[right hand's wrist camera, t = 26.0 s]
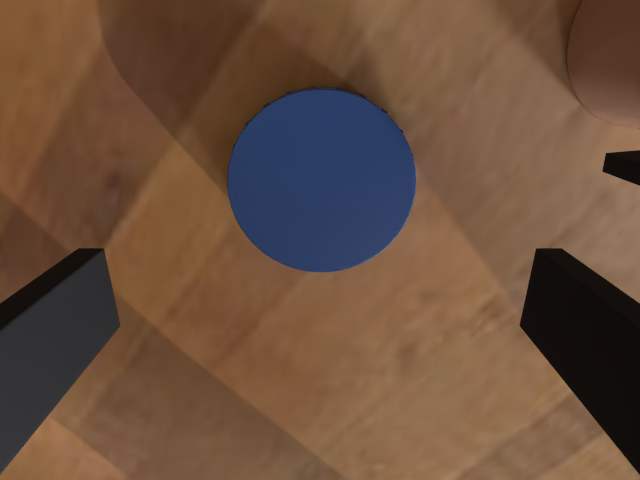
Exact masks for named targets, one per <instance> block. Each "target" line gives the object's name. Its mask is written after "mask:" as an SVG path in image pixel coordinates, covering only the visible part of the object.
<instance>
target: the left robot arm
mask: <svg viewBox="0 0 640 480" xmlns="http://www.w3.org/2000/svg"><path fill="white" fill-rule="evenodd" d="M602 172H605V173H608V174H610V175H613V176H616V177H618V178H621V179H624V180H626V181H629V182H632V183H634V184H637V185H640V150H638V151H626V152H614V153H606V156H605V161H604V166H603V171H602Z"/></svg>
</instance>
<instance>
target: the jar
mask: <svg viewBox="0 0 640 480" xmlns="http://www.w3.org/2000/svg"><path fill="white" fill-rule="evenodd" d="M567 67H568V74H569V79H570V82H571V85H572V88H573V90H574V92H575V94H576V96H577V98H578V99H579V101H580V102H581V104H582V105H583V106H584V107H585V108H586V109H587V110H588V111H589V112H590V113H592V114H593V115H594V116H596V117H597V118H599V119H601V120H603V121H605V122H608V123H611V124H614V125H619V126H624V127H628V128H633V129H638V130H640V0H582V2H581V4H580V6H579V9H578V11H577V13H576V15H575V18H574V21H573V24H572V27H571V31H570V35H569V40H568V48H567Z"/></svg>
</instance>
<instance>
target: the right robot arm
mask: <svg viewBox="0 0 640 480" xmlns="http://www.w3.org/2000/svg"><path fill="white" fill-rule="evenodd" d="M119 327H120V322H119V317H118V313H117V308H116V303H115V299H114V294H113V289H112V285H111V280H110V275H109V271H108V266H107V261H106V257H105V252H104V248H78V249H77V250H76V251H74V252H73V253H71V254H70V255H68V256H67V257H66V258H64V259H63V260H61V261H60V262H59V263H57V264H56V265H54V266H53V267H51V268H50V269H49V270H47V271H46V272H44V273H43V274H42V275H40V276H39V277H37V278H36V279H34V280H33V281H32V282H30V283H29V284H27V285H26V286H25V287H23V288H22V289H20V290H19V291H17V292H16V293H15V294H13V295H12V296H10V297H9V298H8V299H6V300H5V301H3V302H2V303H0V474H1V473H2V472H3V471H4V469H5V468H6V467H7V466H8V464H9V463H10V462H11V461H12V459H13V458H14V457H15V456H16V454H17V453H18V452H19V451H20V450H21V448H22V447H23V446H24V445H25V443H26V442H27V441H28V440H29V438H30V437H31V436H32V435H33V433H34V432H35V431H36V430H37V428H38V427H39V426H40V425H41V423H42V422H43V421H44V420H45V419H46V417H47V416H48V415H49V414H50V412H51V411H52V410H53V409H54V407H55V406H56V405H57V404H58V402H59V401H60V400H61V399H62V397H63V396H64V395H65V394H66V392H67V391H68V390H69V389H70V388H71V386H72V385H73V384H74V383H75V381H76V380H77V379H78V378H79V376H80V375H81V374H82V373H83V371H84V370H85V369H86V368H87V366H88V365H89V364H90V363H91V361H92V360H93V359H94V358H95V357H96V355H97V354H98V353H99V352H100V350H101V349H102V348H103V347H104V345H105V344H106V343H107V342H108V340H109V339H110V338H111V337H112V335H113V334H114V333H115V332H116V330H117V329H118V328H119ZM520 327H521V328H522V329H523V330H524V332H525V333H526V334H527V335H528V337H529V338H530V339H531V340H532V342H533V343H534V344H535V345H536V347H537V348H538V349H539V350H540V352H541V353H542V354H543V355H544V357H545V358H546V359H547V360H548V361H549V363H550V364H551V365H552V366H553V368H554V369H555V370H556V371H557V373H558V374H559V375H560V376H561V378H562V379H563V380H564V381H565V383H566V384H567V385H568V386H569V388H570V389H571V390H572V391H573V392H574V394H575V395H576V396H577V397H578V399H579V400H580V401H581V402H582V404H583V405H584V406H585V407H586V409H587V410H588V411H589V412H590V414H591V415H592V416H593V417H594V419H595V420H596V421H597V422H598V423H599V425H600V426H601V427H602V428H603V430H604V431H605V432H606V433H607V435H608V436H609V437H610V438H611V440H612V441H613V442H614V443H615V445H616V446H617V447H618V448H619V450H620V451H621V452H622V453H623V454H624V456H625V457H626V458H627V459H628V461H629V462H630V463H631V464H632V466H633V467H634V468H635V469H636V471H637V472H638V473H639V474H640V303H638V302H637V301H635V300H634V299H632V298H631V297H630V296H628V295H627V294H625V293H624V292H623V291H621V290H620V289H618V288H617V287H615V286H614V285H613V284H611V283H610V282H608V281H607V280H606V279H604V278H603V277H601V276H600V275H598V274H597V273H596V272H594V271H593V270H591V269H590V268H589V267H587V266H586V265H584V264H583V263H581V262H580V261H579V260H577V259H576V258H574V257H573V256H572V255H570V254H569V253H567V252H566V251H564V250H563V249H562V248H536V252H535V257H534V261H533V266H532V271H531V275H530V280H529V285H528V289H527V294H526V299H525V303H524V308H523V313H522V317H521V322H520Z"/></svg>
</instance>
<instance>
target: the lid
mask: <svg viewBox="0 0 640 480" xmlns="http://www.w3.org/2000/svg"><path fill="white" fill-rule="evenodd" d="M263 107H264V108H263V109H262V110H261V111H260V112H259V113H258V114H257V115H255V116H254V117H253V118H252V120H250V121H249V122H247V123H246V124H245V125H246V127H245V128H244V130H243V131H242V133H241V134H240V136H239V137H238V140H237V142H236V144H235V145H234V146H233V147H234V148H233V151H232V155H231V158H230V162H229V168H228V184H227V185H228V194H229V199H230V203H231V207H232V210H233V213H234V215H235V218H236V220H237V222H238V223H239V225H240V227H241V229H242V230H243V232H244V233H245V234H246V236H247V237H248V238H249V239H250V241H251V242H252V243H253V244H254V245H255V246H256V247H257V248H259V249H260V250H261V251H262V252H263V253H265V254H266V255H267V256H269V257H271V258H272V259H274V260H275V261H278V262H280V263H282V264H284V265H286V266H289V267H292V268H295V269H299V270H304V271H310V272H333V271H340V270H344V269H348V268H352V267H354V266H357V265H360V264H362V263H364V262H366V261H368V260H370V259H371V258H373V257H374V256H376V255H377V254H379V253H380V252H381V251H383V250H384V249H385V248H386V247H387V246H388V245H389V244H390V243H391V242H392V241H393V240H394V239H395V237H396V236H397V235H398V234H399V232H400V231H401V229H402V228H403V226H404V224H405V222H406V220H407V218H408V216H409V214H410V211H411V208H412V205H413V201H414V196H415V189H416V171H415V165H414V160H413V154H412V153H411V150H410V147H409V145H408V143H407V141H406V139H405V137H404V135H403V131H402V130H401V129H399V127H398V126H397V125H396V123H395V122H394V121H393V120H392V119H391V118H390V117H389V116H388V115H387V112H386V111H385V110H384V109H380V108H379V107H377V106H376V105H375V104H373V103H372V102H370V101H369V100H367V99H366V97H365V96H364V95H362V94H361V96H360V95H357V94H355V93H353V92H350V91H347V90H343V89H341V88H340V87H338V88H332V87H315V85H313V86H312V87H311V88H305V89H300V90H297V91H294V92H291V91H288V92H287V93H286V95H284V96H282V97H280V98H278V99H276V100H275V101H273V102H272V103H270V104H269V103H267V104H266V105H264V106H263Z"/></svg>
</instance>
